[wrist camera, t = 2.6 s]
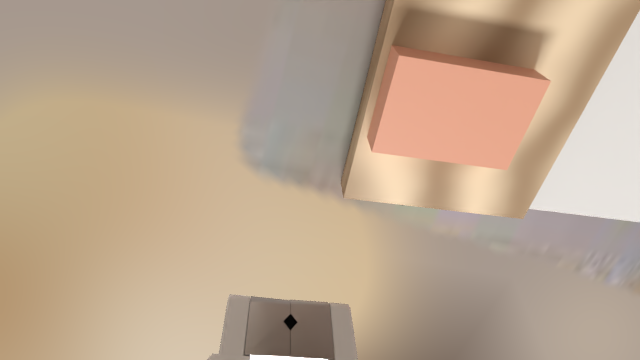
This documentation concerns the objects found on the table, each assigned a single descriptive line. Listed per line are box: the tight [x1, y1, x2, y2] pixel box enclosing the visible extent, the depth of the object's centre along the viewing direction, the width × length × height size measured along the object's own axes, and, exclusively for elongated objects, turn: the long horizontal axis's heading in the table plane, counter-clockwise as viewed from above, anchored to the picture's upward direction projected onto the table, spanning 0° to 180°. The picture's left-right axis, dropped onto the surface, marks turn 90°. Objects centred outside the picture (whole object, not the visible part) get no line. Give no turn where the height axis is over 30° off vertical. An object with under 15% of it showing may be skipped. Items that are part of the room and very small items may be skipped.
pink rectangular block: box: [367, 45, 551, 170], centre depth 25 cm, size 9×6×2 cm, turn 80°
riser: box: [341, 0, 640, 219], centre depth 27 cm, size 14×16×2 cm
